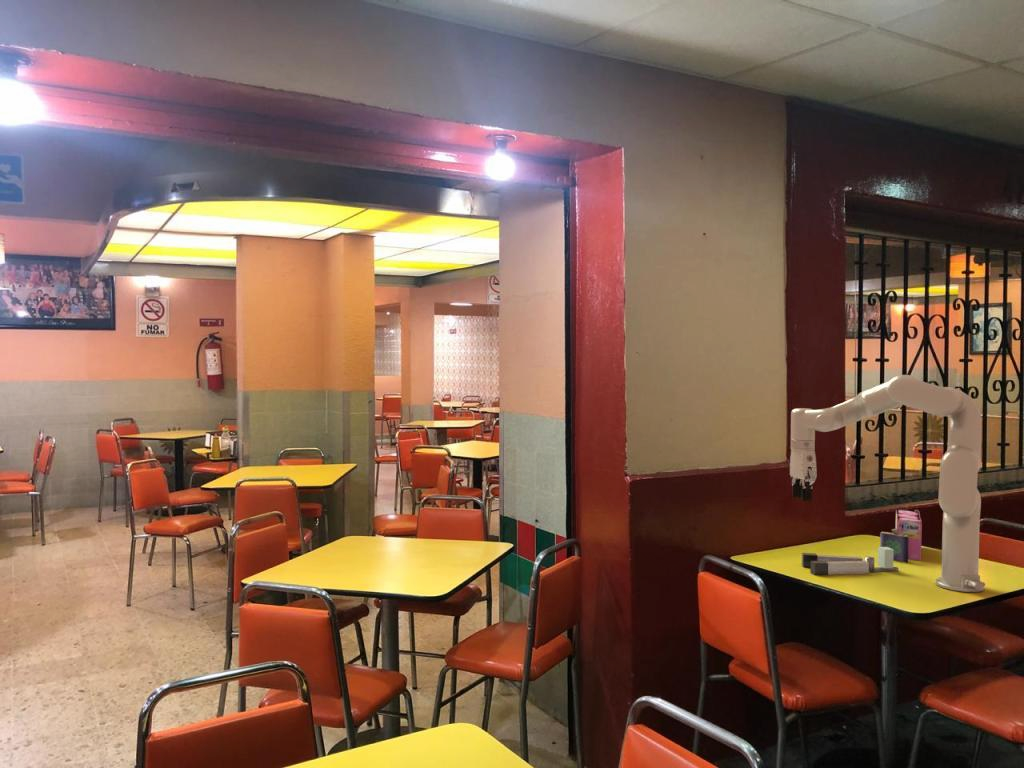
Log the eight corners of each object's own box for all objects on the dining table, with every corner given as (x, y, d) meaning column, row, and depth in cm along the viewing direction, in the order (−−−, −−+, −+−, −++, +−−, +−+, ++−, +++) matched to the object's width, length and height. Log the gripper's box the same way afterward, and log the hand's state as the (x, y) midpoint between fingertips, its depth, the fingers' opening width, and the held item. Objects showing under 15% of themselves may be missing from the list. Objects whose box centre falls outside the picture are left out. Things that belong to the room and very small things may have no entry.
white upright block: (893, 568, 245) (893, 549, 245) (884, 568, 244) (884, 549, 244) (886, 565, 248) (887, 546, 248) (878, 565, 248) (878, 547, 248)
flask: (878, 558, 263) (879, 527, 263) (882, 556, 265) (883, 525, 265) (906, 563, 256) (907, 531, 256) (910, 562, 258) (911, 530, 258)
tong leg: (862, 569, 246) (862, 557, 246) (803, 566, 250) (803, 554, 250) (860, 567, 249) (860, 555, 249) (801, 564, 253) (801, 552, 253)
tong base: (903, 573, 244) (903, 559, 244) (814, 575, 240) (815, 561, 240) (894, 569, 248) (894, 555, 248) (807, 571, 245) (807, 557, 245)
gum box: (894, 543, 285) (895, 507, 284) (918, 546, 281) (919, 509, 281) (895, 558, 263) (896, 518, 263) (921, 560, 260) (922, 521, 259)
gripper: (826, 447, 248) (825, 503, 248) (800, 442, 265) (799, 494, 265) (804, 447, 247) (803, 503, 247) (780, 442, 264) (779, 494, 264)
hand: (801, 498), depth 256 cm, fingers open, 5 cm apart
